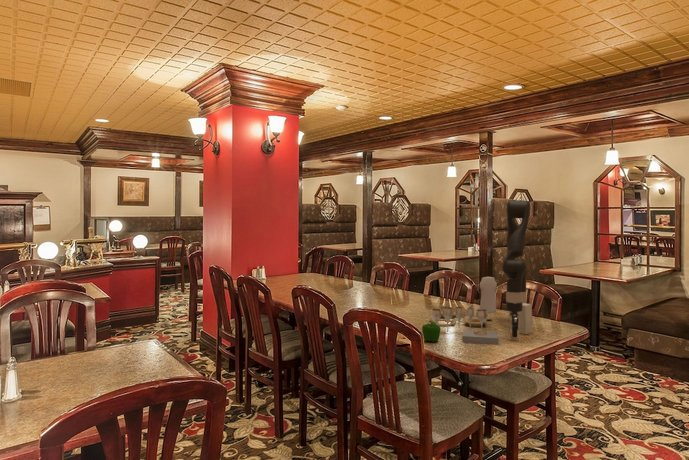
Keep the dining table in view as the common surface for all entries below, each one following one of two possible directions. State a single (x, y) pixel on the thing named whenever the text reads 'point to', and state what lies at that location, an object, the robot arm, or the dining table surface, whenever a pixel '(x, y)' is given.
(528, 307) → the skincare box
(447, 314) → the goblet set
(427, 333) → the bell pepper
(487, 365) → the dining table surface
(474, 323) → the tableware set
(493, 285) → the tall pale column
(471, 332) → the notched board
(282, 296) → the dining table surface
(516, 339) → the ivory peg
